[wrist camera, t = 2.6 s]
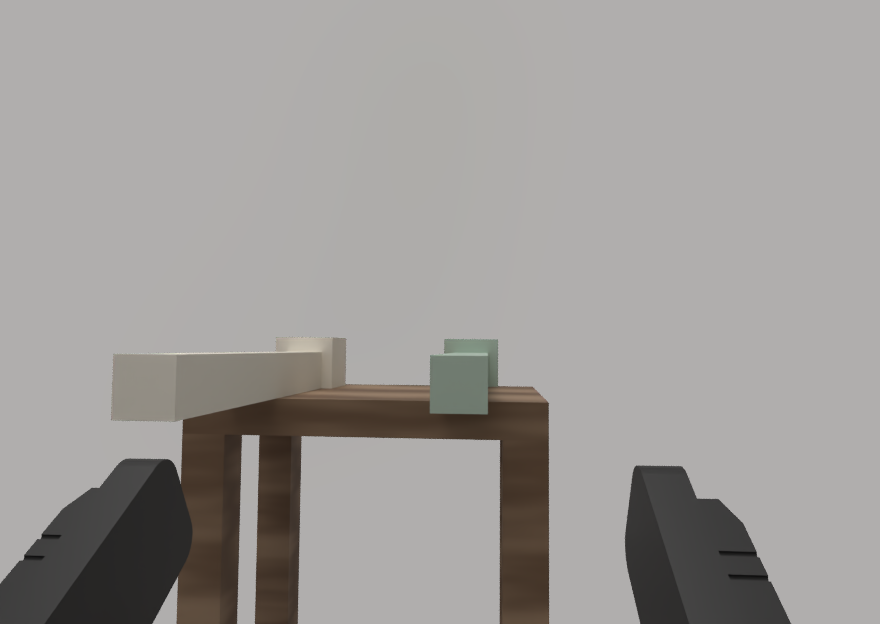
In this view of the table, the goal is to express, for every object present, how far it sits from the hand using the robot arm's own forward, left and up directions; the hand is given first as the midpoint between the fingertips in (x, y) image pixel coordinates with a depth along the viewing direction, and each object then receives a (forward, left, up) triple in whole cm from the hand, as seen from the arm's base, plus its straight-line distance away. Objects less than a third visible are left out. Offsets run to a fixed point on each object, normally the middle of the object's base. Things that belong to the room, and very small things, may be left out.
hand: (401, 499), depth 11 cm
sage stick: (-14, +24, 0) cm, 28 cm away
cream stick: (-22, +15, 0) cm, 26 cm away
